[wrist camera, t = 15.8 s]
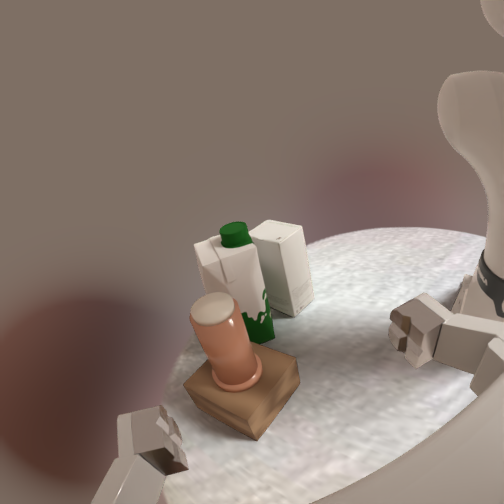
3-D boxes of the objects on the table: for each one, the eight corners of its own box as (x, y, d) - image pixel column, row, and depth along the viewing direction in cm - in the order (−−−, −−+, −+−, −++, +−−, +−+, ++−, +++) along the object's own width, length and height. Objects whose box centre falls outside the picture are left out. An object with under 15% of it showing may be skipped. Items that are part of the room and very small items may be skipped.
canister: (233, 348, 43) (209, 282, 37) (272, 363, 39) (253, 294, 34) (204, 380, 39) (171, 316, 33) (243, 400, 35) (214, 334, 29)
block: (241, 359, 49) (232, 334, 46) (300, 383, 42) (295, 357, 39) (197, 407, 42) (183, 384, 39) (257, 441, 35) (247, 420, 32)
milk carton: (282, 339, 51) (258, 233, 41) (231, 359, 49) (193, 256, 40) (263, 310, 58) (239, 213, 49) (218, 327, 57) (184, 232, 47)
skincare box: (315, 299, 58) (305, 225, 50) (293, 320, 54) (279, 243, 47) (282, 286, 64) (268, 217, 56) (260, 304, 60) (242, 233, 53)
